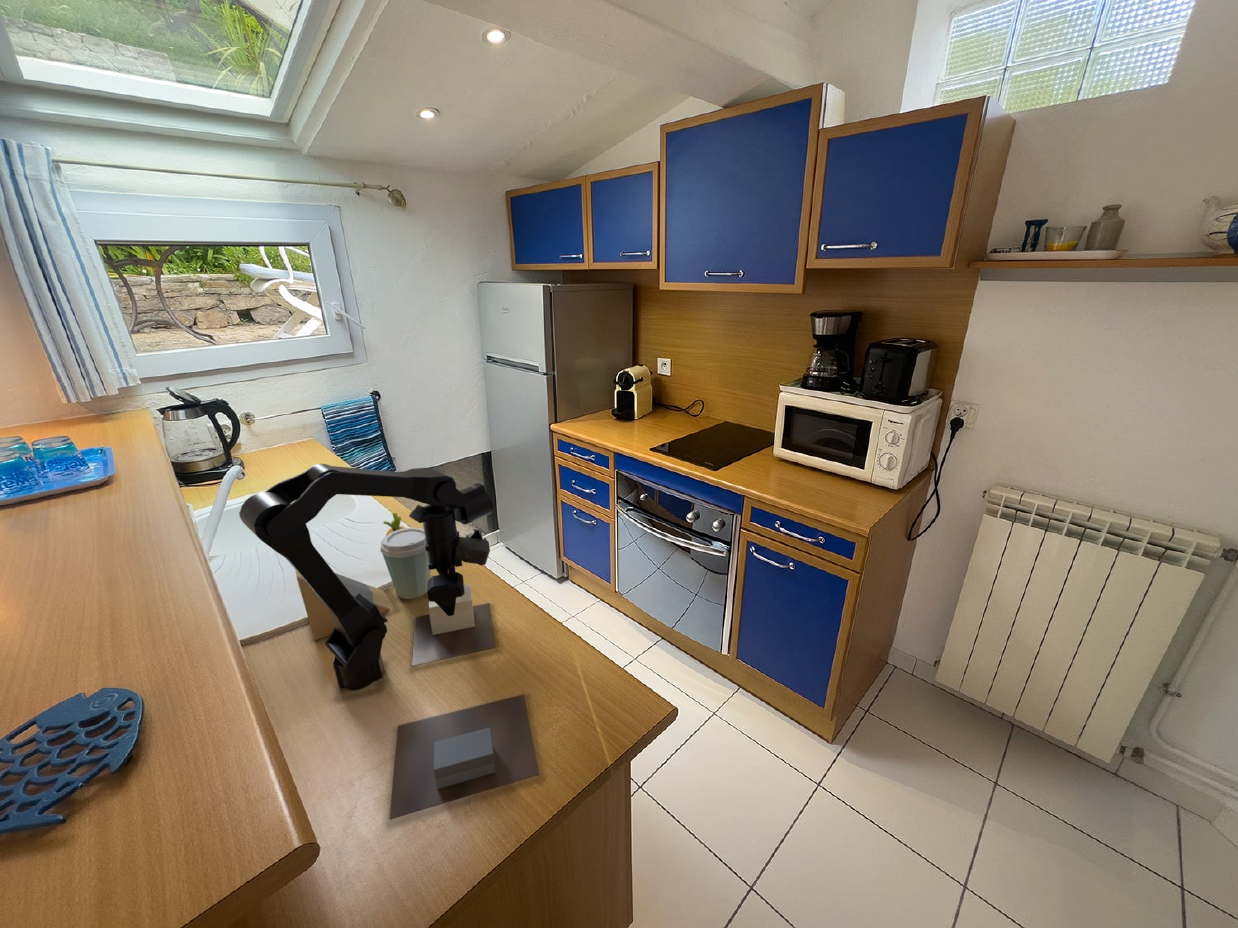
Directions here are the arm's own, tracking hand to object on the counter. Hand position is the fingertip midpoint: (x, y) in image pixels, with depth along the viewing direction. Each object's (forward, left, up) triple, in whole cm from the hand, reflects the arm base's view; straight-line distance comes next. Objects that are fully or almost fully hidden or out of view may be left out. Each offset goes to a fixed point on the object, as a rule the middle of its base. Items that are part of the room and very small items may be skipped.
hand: (450, 600), depth 99 cm
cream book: (0, 0, -1) cm, 1 cm away
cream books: (0, 0, -5) cm, 5 cm away
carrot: (-11, +24, -6) cm, 27 cm away
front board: (+1, -30, -6) cm, 31 cm away
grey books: (+1, -33, -5) cm, 33 cm away
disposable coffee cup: (-8, +14, -6) cm, 17 cm away
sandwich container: (-20, +10, -6) cm, 23 cm away
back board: (0, -3, -6) cm, 7 cm away
